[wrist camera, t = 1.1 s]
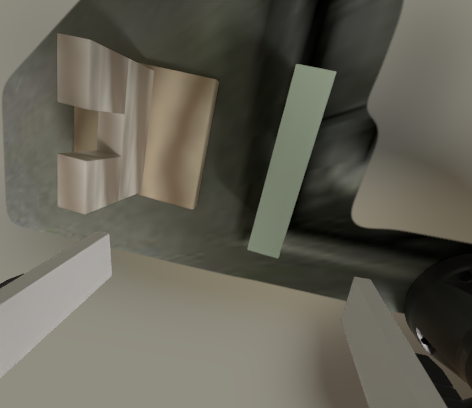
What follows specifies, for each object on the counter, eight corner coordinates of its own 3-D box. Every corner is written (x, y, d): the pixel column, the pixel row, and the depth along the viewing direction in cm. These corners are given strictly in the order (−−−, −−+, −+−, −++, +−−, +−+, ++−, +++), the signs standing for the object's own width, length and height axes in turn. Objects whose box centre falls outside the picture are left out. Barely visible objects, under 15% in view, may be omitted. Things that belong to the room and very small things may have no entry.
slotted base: (219, 82, 29) (180, 50, 18) (196, 206, 34) (155, 240, 23) (84, 53, 31) (-23, 9, 20) (81, 174, 36) (-6, 191, 25)
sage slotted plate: (292, 87, 28) (296, 63, 18) (318, 93, 28) (336, 71, 18) (257, 216, 33) (247, 249, 23) (280, 222, 32) (278, 258, 23)
